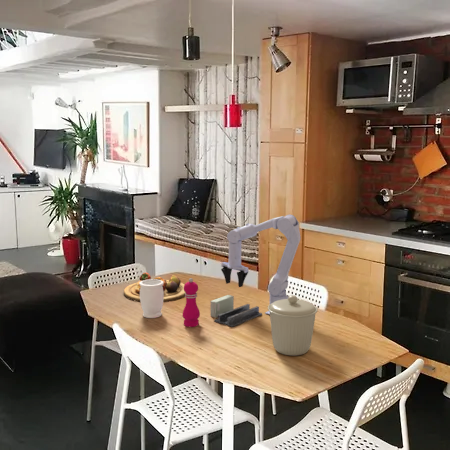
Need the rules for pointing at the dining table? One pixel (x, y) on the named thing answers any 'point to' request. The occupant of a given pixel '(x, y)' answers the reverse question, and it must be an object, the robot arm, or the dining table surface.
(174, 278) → the wooden plate with food
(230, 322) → the rail
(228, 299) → the sage green block
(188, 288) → the pepper mill
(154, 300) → the jar
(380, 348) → the dining table surface
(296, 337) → the canister
